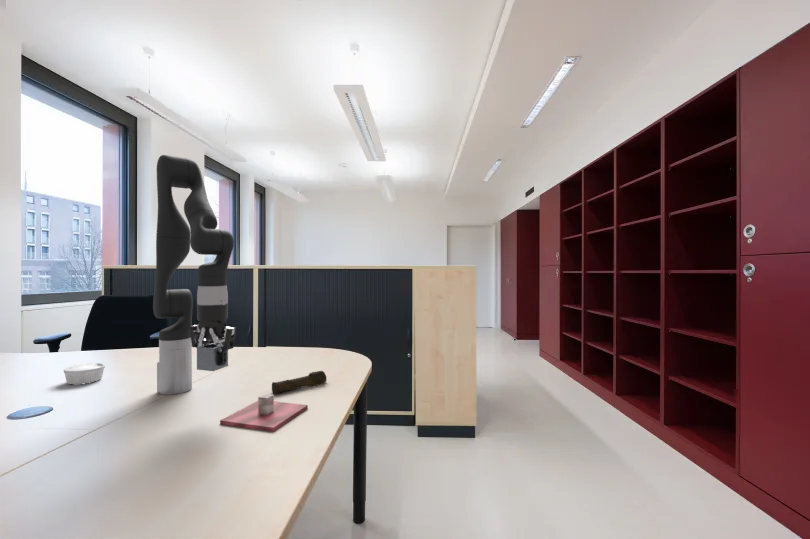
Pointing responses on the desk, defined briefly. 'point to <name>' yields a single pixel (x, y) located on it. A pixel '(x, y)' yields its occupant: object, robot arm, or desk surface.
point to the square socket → (209, 358)
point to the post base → (264, 414)
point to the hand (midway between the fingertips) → (212, 363)
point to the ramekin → (84, 373)
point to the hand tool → (299, 382)
